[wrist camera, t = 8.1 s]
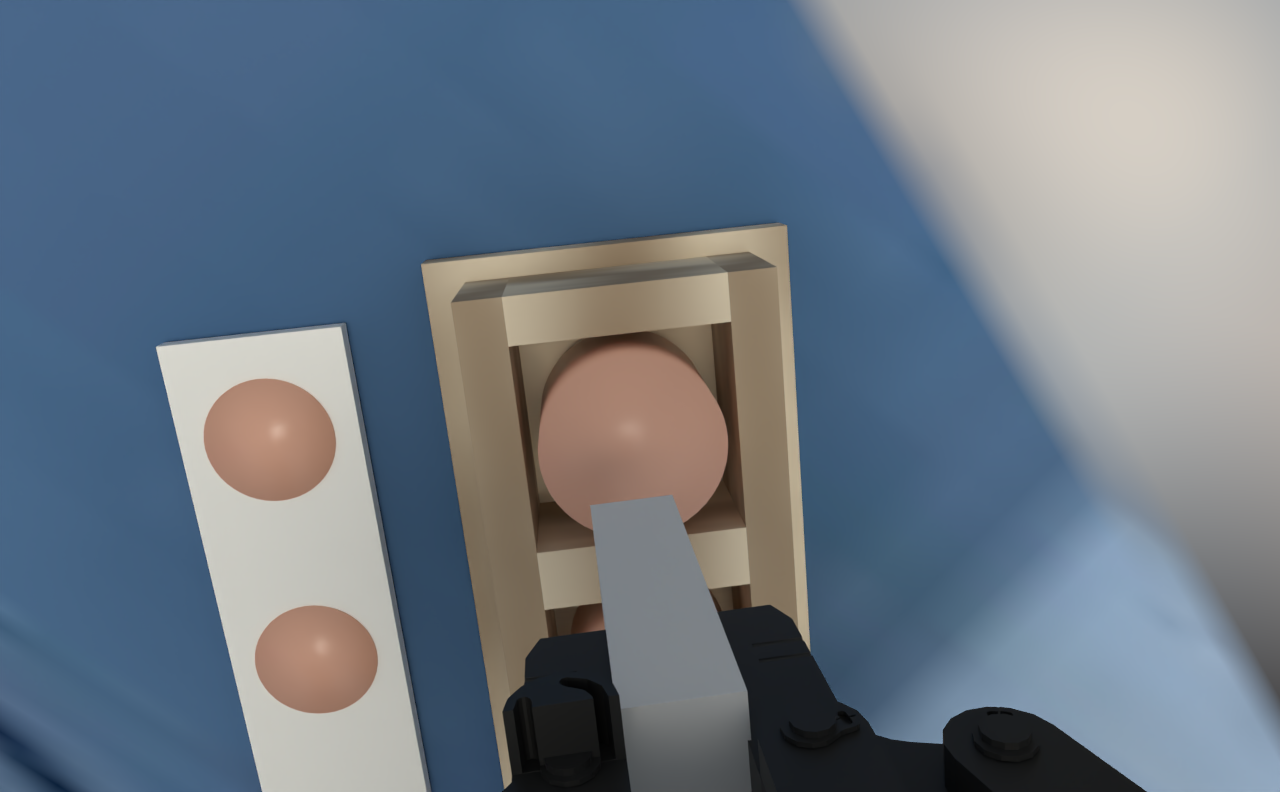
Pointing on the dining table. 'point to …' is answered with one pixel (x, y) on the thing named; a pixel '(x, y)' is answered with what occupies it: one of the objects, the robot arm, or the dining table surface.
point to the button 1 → (629, 426)
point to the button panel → (511, 406)
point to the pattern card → (298, 557)
